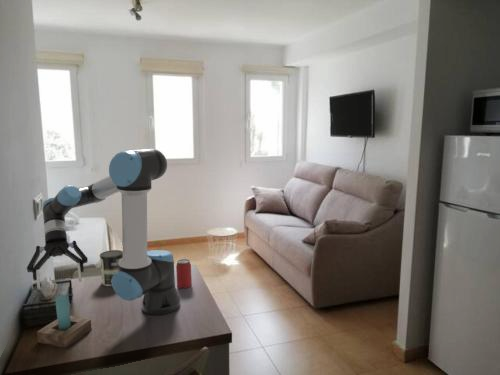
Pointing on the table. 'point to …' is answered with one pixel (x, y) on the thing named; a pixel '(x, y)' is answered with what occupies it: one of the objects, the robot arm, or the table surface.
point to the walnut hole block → (64, 332)
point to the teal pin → (63, 312)
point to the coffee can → (109, 265)
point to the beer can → (183, 273)
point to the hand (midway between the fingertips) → (60, 284)
